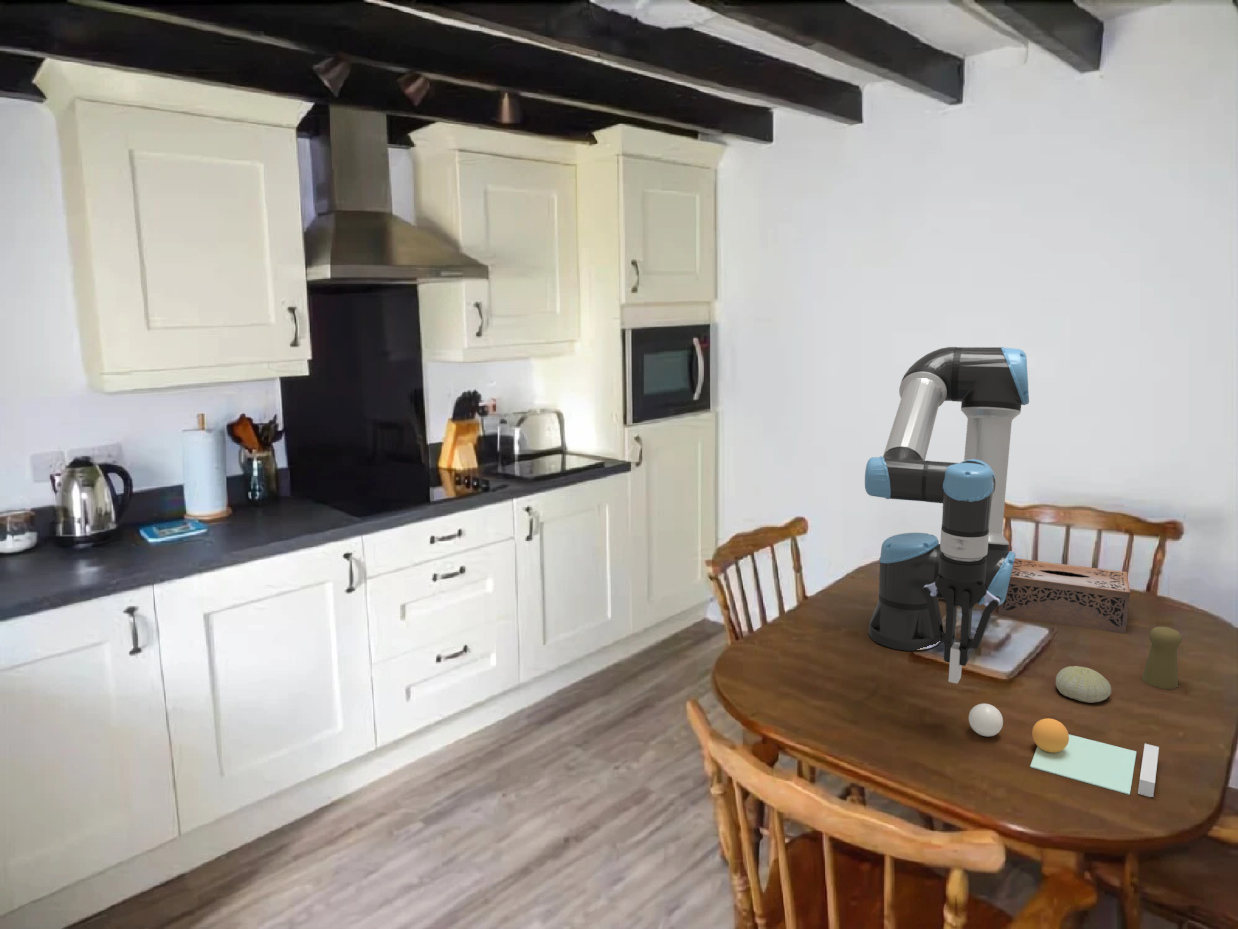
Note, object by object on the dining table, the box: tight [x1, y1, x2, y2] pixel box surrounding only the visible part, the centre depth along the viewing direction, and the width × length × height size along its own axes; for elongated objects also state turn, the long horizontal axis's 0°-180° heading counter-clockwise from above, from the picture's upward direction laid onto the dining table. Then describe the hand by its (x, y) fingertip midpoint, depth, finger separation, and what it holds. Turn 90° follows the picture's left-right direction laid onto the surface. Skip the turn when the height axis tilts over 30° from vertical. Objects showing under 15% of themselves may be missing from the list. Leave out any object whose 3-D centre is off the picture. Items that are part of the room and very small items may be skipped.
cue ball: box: [968, 703, 1004, 737], centre depth 146 cm, size 6×6×6 cm
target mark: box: [1029, 733, 1137, 796], centre depth 139 cm, size 14×14×1 cm
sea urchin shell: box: [1055, 665, 1112, 704], centre depth 160 cm, size 9×8×8 cm
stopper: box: [1137, 743, 1160, 798], centre depth 133 cm, size 2×12×2 cm, turn 145°
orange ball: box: [1031, 717, 1069, 753], centre depth 141 cm, size 6×6×6 cm
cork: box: [1141, 626, 1183, 690], centre depth 163 cm, size 6×6×11 cm
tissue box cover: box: [998, 557, 1131, 634], centre depth 197 cm, size 26×14×10 cm, turn 62°
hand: (954, 679), depth 149 cm, fingers closed
